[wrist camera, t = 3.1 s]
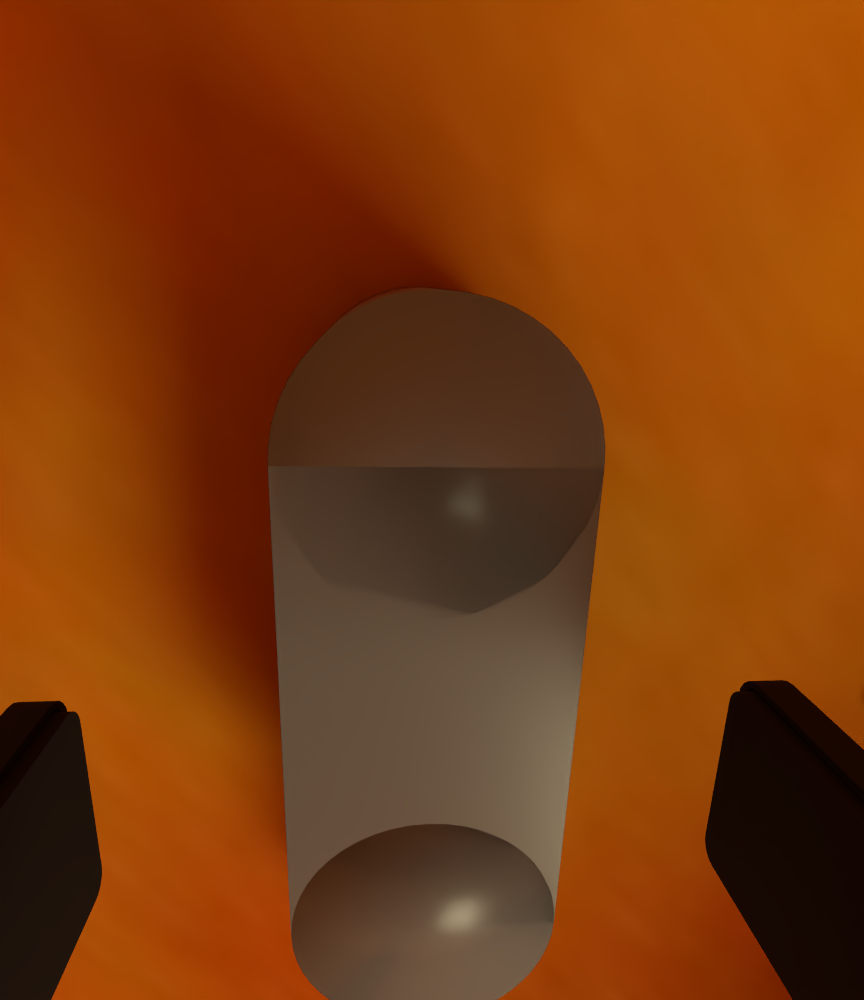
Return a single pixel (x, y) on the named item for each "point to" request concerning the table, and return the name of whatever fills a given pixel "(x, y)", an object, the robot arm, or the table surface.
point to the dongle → (430, 639)
